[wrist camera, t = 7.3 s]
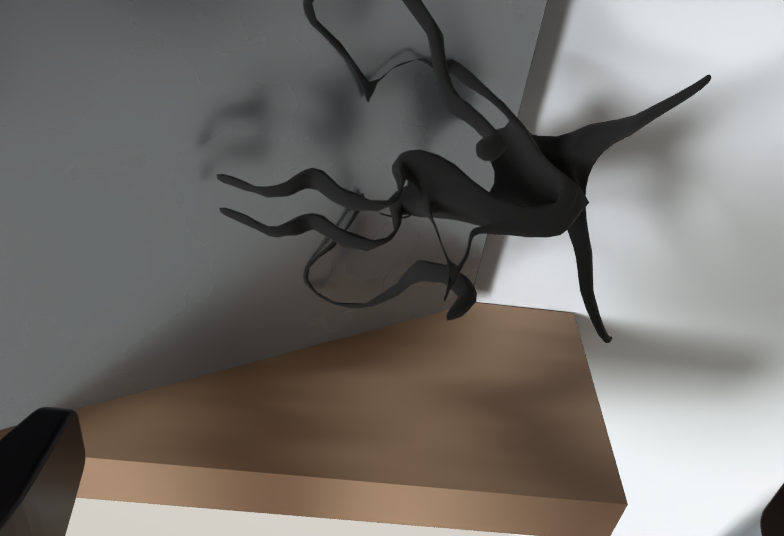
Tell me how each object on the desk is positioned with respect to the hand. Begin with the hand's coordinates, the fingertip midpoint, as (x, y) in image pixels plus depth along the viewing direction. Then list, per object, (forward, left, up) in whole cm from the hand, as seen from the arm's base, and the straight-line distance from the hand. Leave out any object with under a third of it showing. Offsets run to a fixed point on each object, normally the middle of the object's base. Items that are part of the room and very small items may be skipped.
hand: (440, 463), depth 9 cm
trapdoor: (+3, 0, -8) cm, 8 cm away
